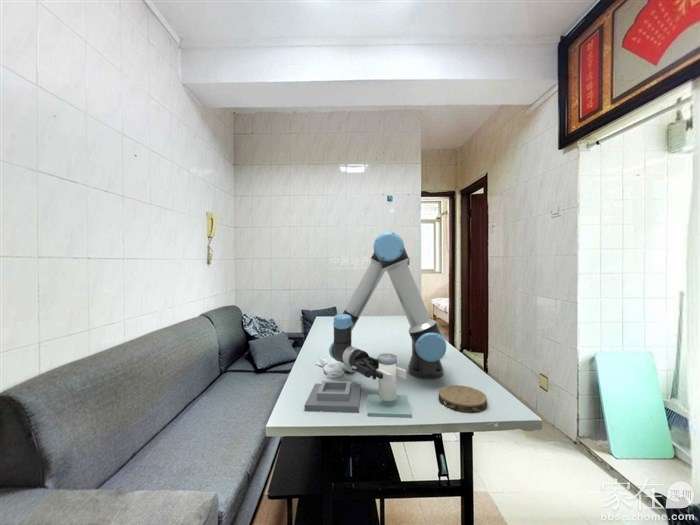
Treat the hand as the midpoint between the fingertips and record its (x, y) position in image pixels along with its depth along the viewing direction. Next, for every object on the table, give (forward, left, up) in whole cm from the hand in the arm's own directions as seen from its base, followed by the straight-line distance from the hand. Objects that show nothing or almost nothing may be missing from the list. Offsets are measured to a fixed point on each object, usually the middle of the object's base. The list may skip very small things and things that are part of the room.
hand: (398, 376), depth 98 cm
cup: (+3, -4, -8) cm, 10 cm away
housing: (+22, -8, -12) cm, 26 cm away
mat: (+3, -4, -12) cm, 13 cm away
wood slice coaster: (-23, -9, -12) cm, 27 cm away
